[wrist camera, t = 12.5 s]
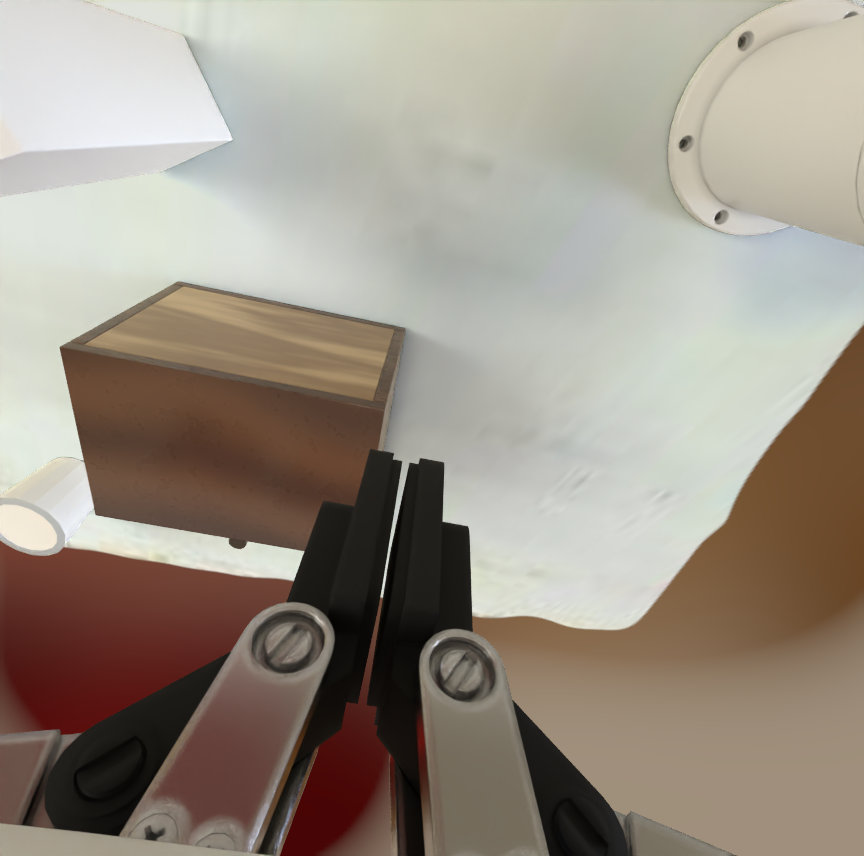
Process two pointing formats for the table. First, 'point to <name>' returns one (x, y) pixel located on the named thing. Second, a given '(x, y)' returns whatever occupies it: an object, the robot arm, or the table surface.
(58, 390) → the table surface
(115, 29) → the milk
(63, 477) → the shot glass
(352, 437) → the cabinet
